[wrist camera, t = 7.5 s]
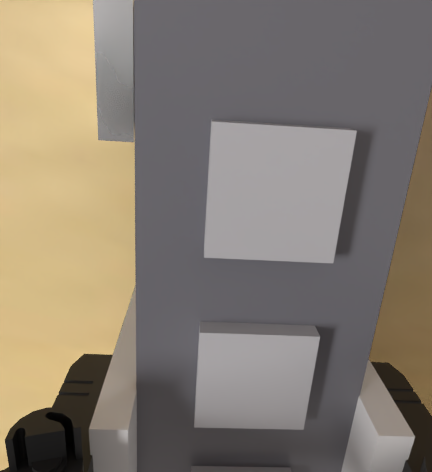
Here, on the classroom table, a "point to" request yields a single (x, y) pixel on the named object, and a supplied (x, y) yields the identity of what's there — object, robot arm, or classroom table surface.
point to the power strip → (266, 220)
